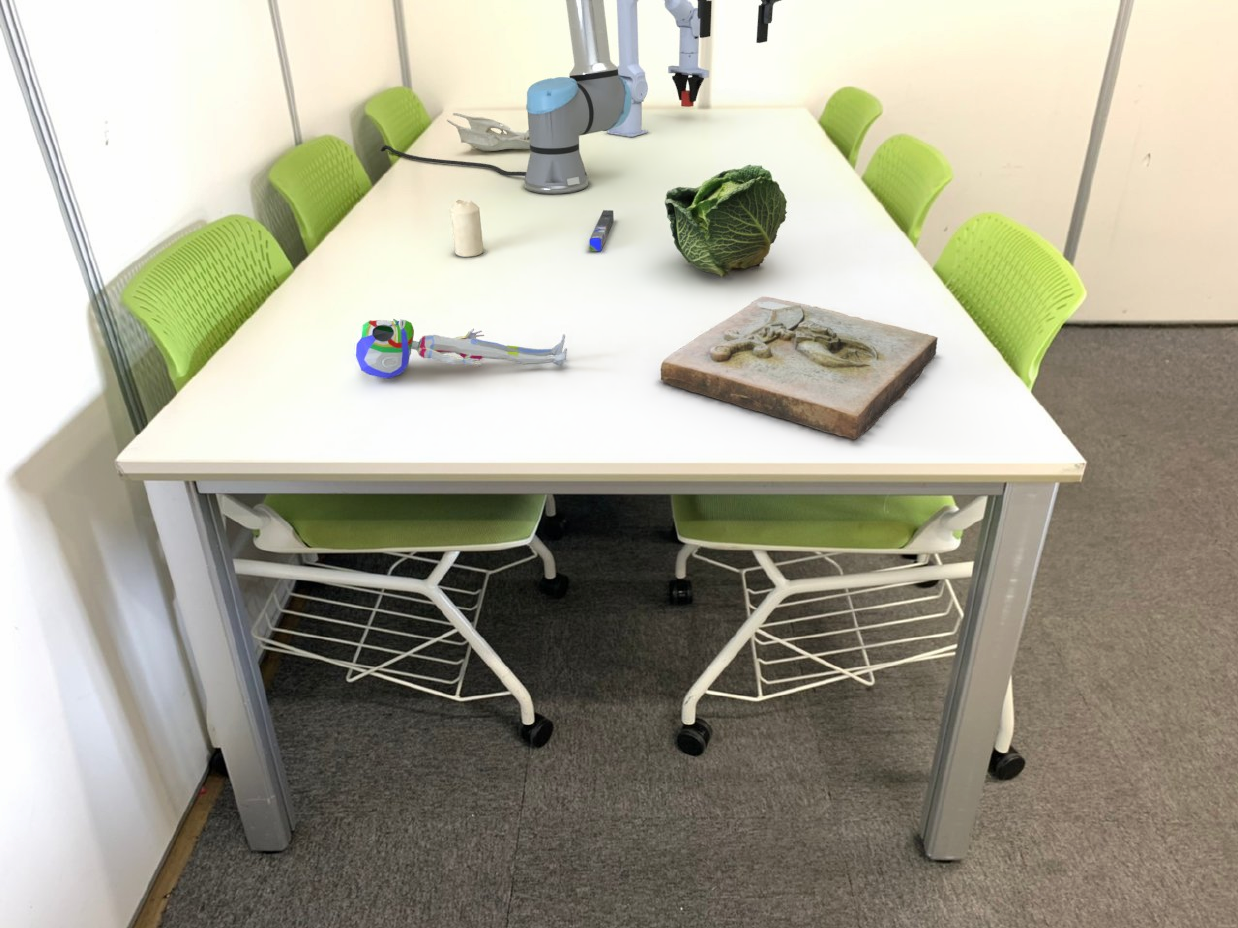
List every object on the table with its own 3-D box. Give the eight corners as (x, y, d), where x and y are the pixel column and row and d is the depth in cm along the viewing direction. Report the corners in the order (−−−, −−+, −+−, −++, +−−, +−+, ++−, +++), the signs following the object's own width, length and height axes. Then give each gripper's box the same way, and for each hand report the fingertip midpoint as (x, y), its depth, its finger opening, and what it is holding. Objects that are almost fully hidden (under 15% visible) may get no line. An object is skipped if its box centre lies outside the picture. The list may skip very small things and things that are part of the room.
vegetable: (694, 294, 173) (643, 202, 166) (775, 239, 175) (728, 145, 167) (734, 307, 155) (678, 205, 147) (824, 245, 156) (773, 141, 149)
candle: (488, 249, 176) (483, 198, 171) (475, 258, 172) (470, 206, 167) (463, 246, 178) (457, 196, 173) (450, 255, 174) (443, 204, 168)
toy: (569, 347, 126) (349, 329, 122) (563, 400, 131) (350, 385, 126) (565, 318, 135) (359, 301, 130) (559, 369, 139) (360, 354, 134)
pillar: (613, 210, 190) (600, 241, 173) (613, 220, 191) (600, 251, 174) (603, 210, 190) (589, 240, 173) (603, 220, 191) (589, 251, 174)
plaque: (865, 393, 108) (658, 335, 123) (857, 444, 112) (657, 381, 127) (948, 314, 129) (763, 273, 144) (939, 359, 133) (759, 314, 148)
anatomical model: (457, 110, 251) (543, 108, 247) (461, 144, 256) (546, 143, 252) (440, 121, 238) (531, 120, 235) (445, 157, 243) (534, 156, 240)
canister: (690, 107, 273) (690, 93, 271) (679, 106, 275) (679, 92, 273) (695, 105, 276) (696, 91, 274) (684, 104, 278) (684, 90, 275)
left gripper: (807, -86, 162) (797, 42, 174) (696, -86, 176) (693, 33, 188) (785, -85, 158) (776, 46, 169) (673, -85, 172) (671, 37, 183)
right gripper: (716, 53, 265) (714, 101, 273) (679, 48, 274) (678, 96, 281) (701, 55, 261) (699, 105, 268) (663, 51, 270) (663, 99, 277)
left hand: (732, 40), depth 178 cm, fingers open, 13 cm apart
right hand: (687, 100), depth 275 cm, fingers closed on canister, 4 cm apart
